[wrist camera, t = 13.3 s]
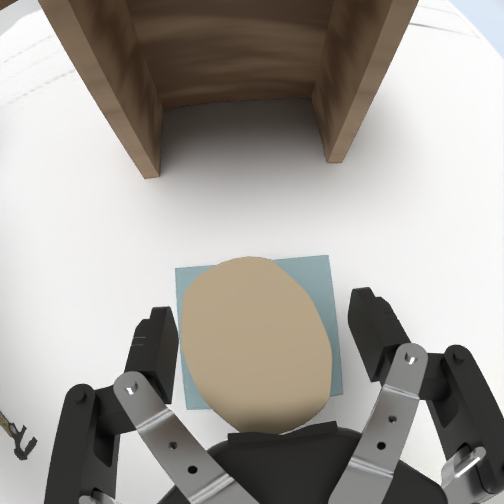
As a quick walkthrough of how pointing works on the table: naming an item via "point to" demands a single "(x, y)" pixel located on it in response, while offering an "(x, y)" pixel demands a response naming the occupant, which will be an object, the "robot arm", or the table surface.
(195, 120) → the table surface
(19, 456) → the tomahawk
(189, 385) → the teal mat
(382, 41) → the walnut cabinet
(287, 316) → the handle
